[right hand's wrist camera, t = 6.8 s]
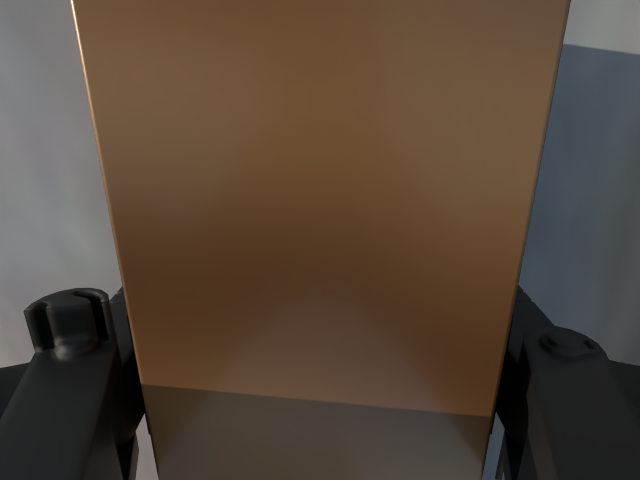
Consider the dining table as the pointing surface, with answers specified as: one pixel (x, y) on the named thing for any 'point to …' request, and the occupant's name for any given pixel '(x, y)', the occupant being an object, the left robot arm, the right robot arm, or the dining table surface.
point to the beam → (320, 222)
